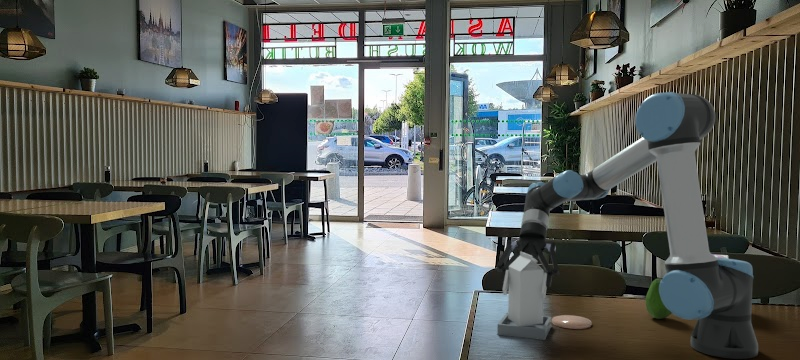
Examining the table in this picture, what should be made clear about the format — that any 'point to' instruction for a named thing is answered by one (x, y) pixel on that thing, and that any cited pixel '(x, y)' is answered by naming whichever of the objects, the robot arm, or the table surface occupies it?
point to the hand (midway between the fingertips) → (523, 294)
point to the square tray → (524, 328)
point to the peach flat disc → (571, 322)
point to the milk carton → (525, 291)
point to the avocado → (656, 301)
